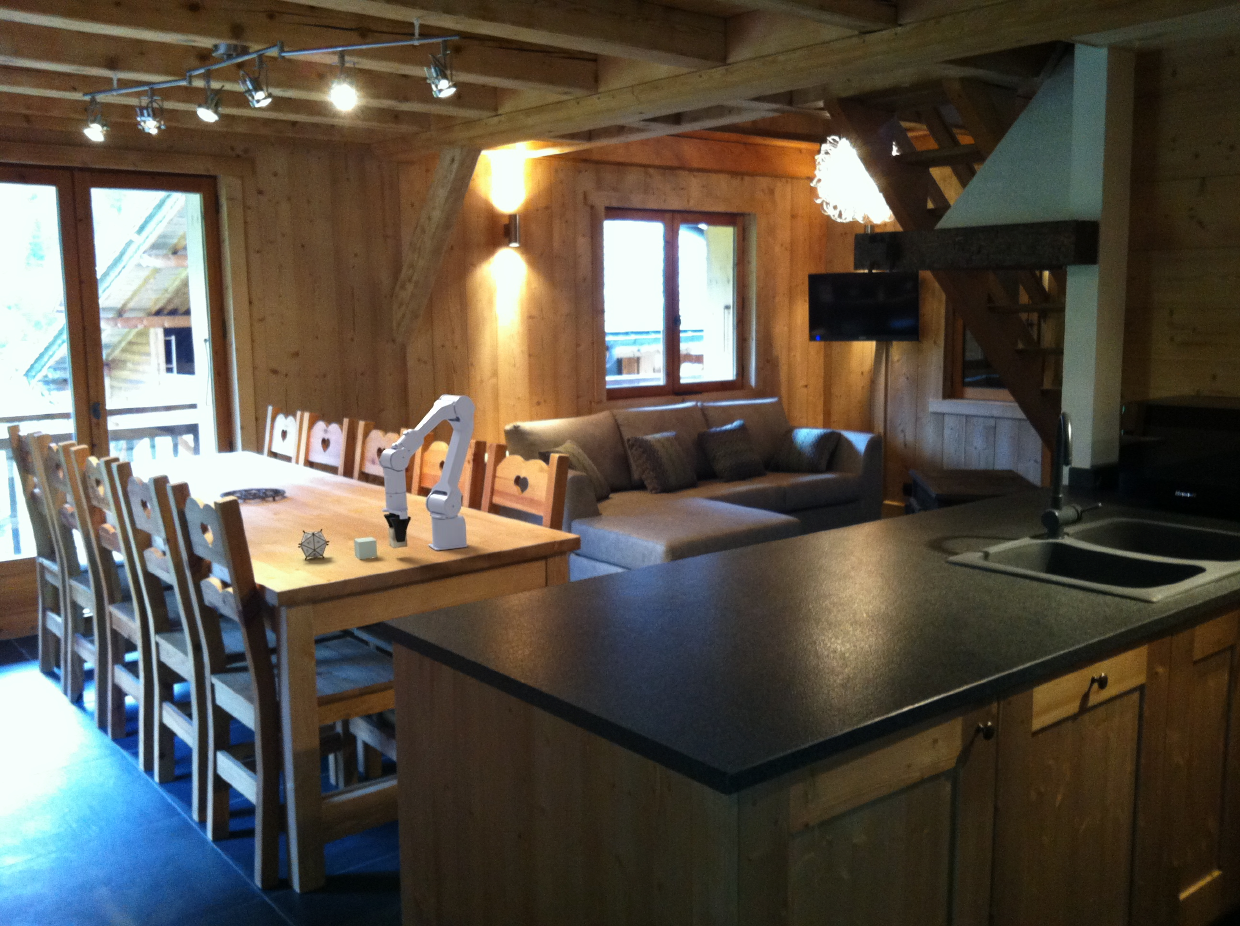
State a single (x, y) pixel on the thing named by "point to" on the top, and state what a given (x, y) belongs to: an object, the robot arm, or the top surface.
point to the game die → (313, 544)
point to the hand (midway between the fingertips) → (398, 540)
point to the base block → (365, 548)
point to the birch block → (393, 542)
